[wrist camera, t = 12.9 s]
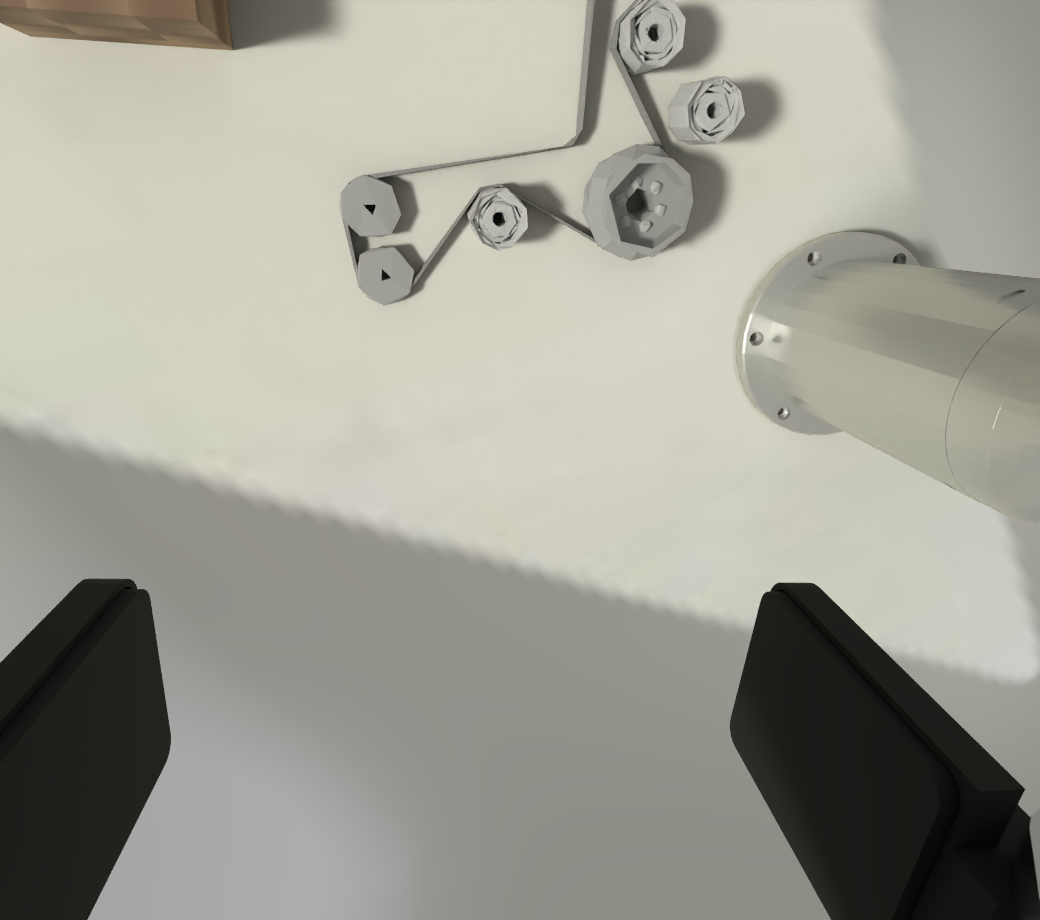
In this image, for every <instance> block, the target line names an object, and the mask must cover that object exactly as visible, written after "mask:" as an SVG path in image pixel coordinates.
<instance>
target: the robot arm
mask: <svg viewBox="0 0 1040 920" xmlns="http://www.w3.org/2000/svg"><path fill="white" fill-rule="evenodd" d="M808 255H809V259H808V260H807V258H808ZM752 334H753V338H752V339H751V340H750V337H751V335H752ZM737 365H738V371H739V377H740V380H741V382H742V385H743V388H744V390H745V393H746V394H747V396H748V397H749V399H750V400H751V402H752V403H753V405H754V406H755V407H756V408H757V409H758V410H759V411H760V412H761V413H762V414H763V415H764V416H765V417H767V418H768V419H770V420H771V421H773V422H774V423H776V424H778V425H779V426H782V427H784V428H786V429H789V430H791V431H793V432H798V433H803V434H808V435H827V434H832V433H837V432H842V431H844V432H846V433H848V434H850V435H852V436H854V437H855V438H857V439H859V440H861V441H863V442H865V443H867V444H869V445H871V446H873V447H875V448H876V449H878V450H880V451H882V452H884V453H886V454H888V455H890V456H892V457H894V458H896V459H897V460H899V461H901V462H903V463H905V464H907V465H909V466H911V467H913V468H915V469H917V470H918V471H920V472H922V473H924V474H926V475H928V476H930V477H932V478H934V479H936V480H938V481H939V482H941V483H943V484H945V485H947V486H949V487H951V488H953V489H955V490H957V491H959V492H960V493H962V494H964V495H966V496H968V497H970V498H972V499H974V500H976V501H978V502H980V503H982V504H984V505H986V506H988V507H990V508H992V509H994V510H996V511H998V512H1000V513H1002V514H1004V515H1006V516H1008V517H1011V518H1013V519H1015V520H1018V521H1021V522H1024V523H1026V524H1030V525H1034V526H1037V527H1040V279H1038V278H1028V277H1018V276H1009V275H999V274H990V273H980V272H969V271H961V270H951V269H942V268H932V267H922V265H921V264H920V263H919V261H918V260H917V259H916V258H915V256H914V255H913V254H912V253H911V252H910V251H909V250H908V249H906V248H905V247H904V246H902V245H901V244H900V243H898V242H897V241H895V240H892V239H890V238H887V237H885V236H882V235H879V234H873V233H866V232H840V233H835V234H829V235H825V236H822V237H819V238H817V239H814V240H812V241H809V242H807V243H805V244H803V245H802V246H800V247H798V248H797V249H795V250H794V251H792V252H790V253H789V254H788V255H786V256H785V257H784V258H783V259H782V260H781V261H780V262H778V263H777V264H776V265H775V266H774V267H773V268H772V269H771V270H770V271H769V273H768V274H767V275H766V276H765V277H764V279H763V280H762V281H761V282H760V284H759V285H758V287H757V288H756V290H755V292H754V294H753V295H752V297H751V299H750V300H749V302H748V305H747V307H746V310H745V312H744V315H743V318H742V320H741V324H740V329H739V334H738V338H737ZM779 410H780V411H779ZM730 731H731V737H732V741H733V743H734V745H735V747H736V749H737V751H738V753H739V754H740V756H741V758H742V760H743V762H744V764H745V765H746V767H747V769H748V771H749V772H750V774H751V776H752V778H753V779H754V782H755V783H756V785H757V787H758V789H759V790H760V792H761V794H762V796H763V798H764V800H765V801H766V803H767V805H768V807H769V809H770V810H771V812H772V814H773V816H774V817H775V819H776V821H777V823H778V825H779V826H780V828H781V830H782V832H783V834H784V835H785V837H786V839H787V841H788V843H789V844H790V846H791V848H792V850H793V852H794V853H795V855H796V857H797V859H798V860H799V862H800V864H801V866H802V868H803V870H804V871H805V873H806V875H807V877H808V879H809V880H810V882H811V884H812V886H813V888H814V889H815V891H816V893H817V895H818V897H819V898H820V900H821V902H822V904H823V906H824V907H825V909H826V911H827V913H828V914H829V916H830V918H831V920H1040V809H1039V810H1037V811H1036V812H1035V813H1034V814H1033V815H1032V816H1031V817H1029V816H1028V815H1027V814H1026V813H1025V812H1024V811H1023V810H1022V809H1021V808H1020V807H1019V806H1018V802H1019V800H1020V798H1021V796H1022V794H1023V792H1024V790H1025V789H1024V788H1023V787H1022V786H1021V785H1020V784H1019V783H1018V782H1017V781H1016V780H1015V779H1014V778H1013V777H1012V776H1011V775H1010V774H1009V773H1008V772H1007V771H1006V770H1005V769H1004V768H1003V767H1002V766H1001V765H1000V764H999V763H998V762H997V761H996V760H995V759H994V758H993V757H992V756H991V755H990V754H989V753H988V752H987V751H986V750H985V749H984V748H983V747H982V746H981V745H979V743H978V742H976V741H975V740H974V739H973V738H972V737H971V736H970V735H969V734H968V733H967V732H966V731H965V730H964V729H963V728H962V727H961V726H960V725H959V724H958V723H957V722H956V721H955V720H954V719H953V718H952V717H951V716H950V715H949V714H948V713H947V712H946V711H945V710H944V709H943V708H942V707H941V706H940V705H939V704H938V703H937V702H935V700H934V699H933V698H932V697H931V696H930V695H929V694H928V693H927V692H925V691H924V690H923V689H922V688H921V687H920V686H919V685H918V684H917V683H916V682H915V681H914V680H913V679H912V678H911V677H910V676H909V675H908V674H907V673H906V672H905V671H904V670H903V669H902V668H901V667H900V666H899V665H898V664H897V663H896V662H895V661H894V660H893V659H892V658H891V657H890V656H889V655H888V654H887V653H886V652H885V651H884V650H883V649H882V648H881V647H880V646H879V645H878V644H877V643H876V642H875V641H873V640H872V639H871V638H870V637H869V636H868V635H867V634H866V633H865V632H864V631H863V630H862V629H861V628H860V627H859V626H858V625H857V624H856V623H855V622H854V621H853V620H852V619H851V618H850V617H849V616H848V615H847V614H846V613H845V612H844V611H843V610H842V609H841V608H840V607H839V606H838V605H837V604H836V603H835V602H834V601H833V600H832V599H831V598H830V597H829V596H828V595H827V594H826V593H825V592H823V591H822V590H821V589H820V588H819V587H818V586H817V585H815V584H813V583H777V584H775V585H774V586H773V588H772V589H771V592H766V593H765V594H764V595H763V596H762V599H761V602H760V606H759V610H758V614H757V618H756V622H755V625H754V629H753V633H752V637H751V641H750V645H749V649H748V653H747V657H746V661H745V665H744V669H743V673H742V676H741V680H740V684H739V688H738V692H737V696H736V700H735V704H734V708H733V712H732V716H731V720H730ZM170 744H171V733H170V726H169V720H168V713H167V706H166V700H165V693H164V687H163V680H162V673H161V667H160V660H159V654H158V647H157V640H156V634H155V627H154V621H153V614H152V607H151V601H150V596H149V594H148V592H147V591H146V590H144V589H137V586H136V584H135V583H134V581H132V580H131V579H85V580H82V581H81V582H80V583H78V584H77V585H76V586H75V587H74V588H73V589H72V590H71V591H70V592H69V593H68V595H67V596H66V597H65V598H64V599H63V600H62V601H61V602H60V603H59V604H58V605H57V606H56V607H55V608H54V609H53V610H52V611H51V612H50V613H49V614H48V615H47V616H46V617H45V618H44V619H43V620H42V621H41V622H40V623H39V624H38V625H37V626H36V627H35V628H34V629H33V630H32V631H31V632H30V633H29V634H28V635H27V636H26V637H25V638H24V639H23V640H22V641H21V642H20V643H19V644H18V645H17V646H16V647H15V649H13V650H12V651H11V653H10V654H8V656H7V657H6V658H5V659H4V660H3V661H2V662H1V663H0V920H87V919H88V917H89V915H90V913H91V911H92V909H93V907H94V905H95V903H96V901H97V899H98V897H99V895H100V893H101V891H102V889H103V887H104V885H105V883H106V881H107V879H108V877H109V875H110V873H111V871H112V869H113V867H114V865H115V863H116V861H117V859H118V857H119V855H120V853H121V851H122V849H123V847H124V845H125V843H126V841H127V839H128V837H129V835H130V834H131V831H132V830H133V828H134V825H135V823H136V821H137V819H138V818H139V816H140V813H141V811H142V810H143V808H144V805H145V804H146V802H147V799H148V797H149V796H150V794H151V792H152V790H153V788H154V786H155V784H156V781H157V779H158V778H159V776H160V774H161V772H162V770H163V768H164V765H165V763H166V761H167V758H168V755H169V751H170Z"/></svg>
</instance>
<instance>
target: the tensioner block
mask: <svg viewBox="0 0 1040 920" xmlns="http://www.w3.org/2000/svg"><path fill="white" fill-rule="evenodd" d="M0 23H2V24H4V25H6V26H9V27H11V28H13V29H15V30H18V31H20V32H22V33H24V34H27V35H29V36H34V37H49V38H63V39H78V40H92V41H107V42H121V43H135V44H150V45H164V46H179V47H193V48H208V49H222V50H233V47H232V38H231V29H230V20H229V11H228V2H227V0H0Z"/></svg>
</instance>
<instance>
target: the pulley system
mask: <svg viewBox="0 0 1040 920" xmlns="http://www.w3.org/2000/svg"><path fill="white" fill-rule="evenodd" d="M594 1H595V0H587V9H586V21H585V33H584V45H583V57H582V69H581V81H580V93H579V105H578V117H577V129H576V136H575V137H574V138H573V139H572V140H570V141H569V142H568V143H567V144H566V145H564V146H563V147H558V148H551V149H544V150H537V151H530V152H523V153H516V154H509V155H502V156H495V157H488V158H482V159H475V160H468V161H461V162H454V163H447V164H440V165H433V166H426V167H419V168H412V169H405V170H398V171H392V172H385V173H378V174H371V175H362V176H359V177H357V178H355V179H353V180H352V181H351V182H349V184H348V185H347V186H346V187H345V189H344V190H343V191H342V192H341V196H340V210H341V215H342V219H343V223H344V227H345V232H346V236H347V240H348V244H349V248H350V252H351V256H352V260H353V265H354V269H355V273H356V277H357V281H358V285H359V288H360V289H361V290H362V291H363V293H364V294H365V295H366V296H367V297H369V298H370V299H372V300H374V301H376V302H378V303H380V304H382V305H388V304H392V303H395V302H398V301H400V300H402V299H403V298H404V297H405V296H407V295H408V294H409V293H410V290H411V289H412V287H413V286H414V285H415V283H416V282H417V280H418V279H419V277H420V276H421V274H422V273H423V272H424V270H425V269H426V267H427V266H428V264H429V263H430V261H431V260H432V259H433V257H434V256H435V254H436V253H437V251H438V250H439V249H440V247H441V246H442V244H443V243H444V241H445V240H446V238H447V237H448V236H449V234H450V233H451V231H452V230H453V228H454V227H455V225H456V224H457V223H458V221H459V220H460V218H461V217H462V215H463V214H464V212H465V211H466V210H467V208H468V207H469V205H470V204H471V203H472V201H473V200H474V198H475V197H476V198H475V200H474V201H473V203H472V205H471V206H470V208H469V210H468V211H467V216H468V219H469V222H470V225H471V228H472V231H473V233H474V234H475V235H476V236H477V238H478V239H479V240H480V241H481V242H482V243H484V244H486V245H487V246H490V247H492V248H494V249H497V250H502V249H506V248H511V247H512V246H513V245H514V244H515V243H516V242H518V241H519V239H520V238H521V237H522V236H523V234H524V233H525V231H526V230H527V228H528V223H527V209H526V208H525V206H524V205H523V203H522V201H521V200H520V199H522V200H523V201H525V202H527V203H528V204H530V205H532V206H533V207H535V208H537V209H539V210H540V211H542V212H544V213H545V214H547V215H549V216H551V217H552V218H554V219H556V220H557V221H559V222H561V223H562V224H564V225H566V226H568V227H569V228H571V229H573V230H574V231H576V232H578V233H580V234H581V235H583V236H585V237H586V238H588V239H590V240H591V241H593V242H595V243H597V245H598V246H600V247H601V248H602V249H604V250H606V251H608V252H611V253H613V254H615V255H617V256H619V257H623V258H625V259H627V260H630V261H632V260H635V259H639V258H642V257H646V256H650V257H654V256H655V255H656V254H657V253H660V252H663V251H664V249H665V248H666V247H667V245H669V244H670V243H671V242H673V241H674V240H675V239H676V238H678V237H679V236H680V235H681V234H683V233H684V232H685V231H686V227H687V223H688V220H689V216H690V212H691V209H692V205H693V194H692V185H691V176H690V174H689V173H688V172H687V171H686V170H685V169H683V168H682V167H681V166H680V165H679V164H678V163H677V162H676V161H675V160H674V159H672V158H670V157H669V156H668V155H667V154H666V152H665V150H664V148H663V146H662V144H661V142H660V140H659V137H658V135H657V133H656V131H655V129H654V127H653V125H652V123H651V121H650V118H649V116H648V114H647V112H646V110H645V108H644V106H643V104H642V102H641V99H640V97H639V95H638V93H637V91H636V89H635V87H634V85H633V83H632V80H631V78H630V76H629V74H628V72H627V70H628V71H629V72H630V73H631V74H632V75H637V74H643V73H646V72H649V71H651V70H653V69H656V68H659V67H663V66H665V65H666V64H668V63H669V62H670V61H672V60H673V59H674V58H675V56H676V55H677V54H678V53H679V52H680V50H681V49H682V48H683V43H684V36H685V21H686V19H685V17H684V15H683V14H682V12H681V10H680V9H679V7H678V6H677V4H676V3H675V1H674V0H644V1H643V2H642V3H640V4H639V5H637V6H636V7H635V8H633V6H634V5H635V4H636V3H637V2H638V1H639V0H635V1H634V2H633V3H632V4H631V5H630V7H629V8H628V9H627V10H626V11H625V12H624V13H623V14H622V15H621V16H620V17H619V18H618V20H617V21H616V23H615V27H614V31H613V35H612V39H611V43H610V47H609V49H610V51H611V53H612V55H613V57H614V59H615V61H616V63H617V66H618V68H619V70H620V72H621V74H622V76H623V78H624V80H625V83H626V85H627V87H628V89H629V91H630V93H631V95H632V97H633V100H634V102H635V104H636V106H637V108H638V110H639V112H640V114H641V117H642V119H643V121H644V123H645V125H646V127H647V129H648V131H649V133H650V135H651V137H652V139H653V141H654V143H655V145H656V146H650V145H641V144H636V145H634V146H631V147H629V148H627V149H624V150H622V151H620V152H617V153H615V154H613V155H612V156H611V157H610V158H607V159H605V160H603V161H601V162H599V163H598V165H597V167H596V169H595V171H594V173H593V175H592V176H591V178H590V180H589V181H588V182H587V186H586V188H585V192H584V201H583V211H582V212H583V214H584V216H585V218H586V221H587V223H588V225H589V228H590V230H591V232H592V234H593V237H594V239H593V238H592V237H590V236H588V235H587V234H585V233H583V232H581V231H580V230H578V229H576V228H575V227H573V226H571V225H569V224H568V223H566V222H564V221H563V220H561V219H559V218H557V217H556V216H554V215H552V214H551V213H549V212H547V211H545V210H544V209H542V208H540V207H539V206H537V205H535V204H533V203H532V202H530V201H528V200H527V199H525V198H523V197H521V196H520V195H518V194H516V193H515V192H513V191H511V190H509V189H508V188H506V187H504V186H503V185H501V184H497V185H491V186H486V187H480V188H479V189H478V190H477V192H476V193H475V194H474V196H473V197H472V199H471V200H470V201H469V203H468V204H467V205H466V207H465V208H464V210H463V211H462V212H461V214H460V215H459V216H458V218H457V219H456V221H455V222H454V223H453V225H452V226H451V227H450V229H449V230H448V232H447V233H446V234H445V236H444V237H443V238H442V240H441V241H440V243H439V244H438V245H437V247H436V248H435V249H434V251H433V252H432V254H431V255H430V256H429V258H428V259H427V260H426V262H425V263H424V265H423V266H422V267H421V269H420V270H419V271H418V273H417V274H416V276H415V277H414V278H413V275H414V270H413V268H412V267H411V266H410V264H409V263H408V261H407V260H406V259H405V257H404V256H403V255H402V253H401V252H399V251H398V250H397V249H396V248H395V247H388V248H385V247H383V246H381V247H379V248H373V249H370V250H368V251H366V252H364V253H362V254H360V257H359V263H358V267H357V262H356V258H355V253H354V248H353V244H352V239H351V235H350V230H349V226H350V227H351V228H352V229H353V230H354V231H355V232H356V233H357V234H358V235H359V236H374V237H383V236H387V235H391V234H392V232H393V230H394V228H395V226H396V224H397V222H398V220H399V218H400V216H401V212H400V209H399V208H400V207H399V205H398V203H397V200H396V197H395V194H394V191H393V188H392V186H391V185H390V184H388V183H387V182H385V181H384V180H382V179H381V178H380V177H386V176H392V175H399V174H405V173H411V172H418V171H424V170H430V169H437V168H443V167H449V166H456V165H462V164H468V163H475V162H481V161H488V160H494V159H500V158H507V157H513V156H519V155H526V154H532V153H538V152H545V151H551V150H557V149H564V148H568V147H570V146H572V145H573V144H574V142H575V141H576V139H577V137H578V136H579V134H580V132H581V131H582V129H583V120H584V109H585V98H586V87H587V76H588V66H589V55H590V44H591V33H592V22H593V11H594ZM632 8H633V9H632ZM631 9H632V10H631ZM668 115H669V129H670V130H671V132H672V133H673V135H674V136H675V138H676V139H677V140H678V141H681V142H684V143H687V144H717V143H719V142H720V141H721V140H723V139H724V138H726V137H727V136H728V135H730V134H731V133H732V132H733V131H734V130H735V128H736V127H737V125H738V124H739V123H740V121H741V120H742V118H743V117H744V115H745V111H744V106H743V101H742V95H741V91H740V89H739V88H738V87H737V86H736V84H734V83H733V82H732V81H731V80H730V79H728V78H727V77H726V76H720V77H711V78H708V79H706V80H703V81H697V82H691V83H686V84H681V86H680V87H679V89H678V91H677V93H676V95H675V96H674V98H673V100H672V102H671V104H670V105H669V107H668ZM495 187H501V188H495ZM636 189H637V191H638V193H639V195H640V197H641V199H642V201H643V203H644V206H645V208H643V209H641V210H638V211H636V212H634V213H630V212H629V211H627V206H626V202H627V199H628V198H629V197H630V196H631V195H632V194H633V193H634V192H635V191H636ZM477 194H478V195H477ZM519 198H520V199H519ZM367 205H375V210H374V211H372V210H368V209H366V206H367ZM497 212H500V213H501V222H500V223H496V224H494V223H493V215H494V214H495V213H497ZM348 225H349V226H348ZM382 269H383V270H384V271H385V272H386V273H387V274H388V275H389V276H390V277H387V278H384V279H383V277H382ZM412 279H413V280H412Z"/></svg>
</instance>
